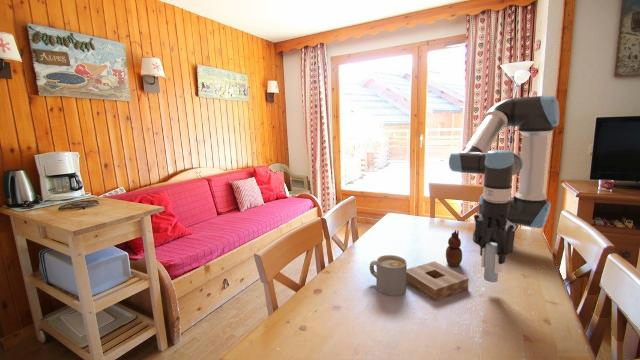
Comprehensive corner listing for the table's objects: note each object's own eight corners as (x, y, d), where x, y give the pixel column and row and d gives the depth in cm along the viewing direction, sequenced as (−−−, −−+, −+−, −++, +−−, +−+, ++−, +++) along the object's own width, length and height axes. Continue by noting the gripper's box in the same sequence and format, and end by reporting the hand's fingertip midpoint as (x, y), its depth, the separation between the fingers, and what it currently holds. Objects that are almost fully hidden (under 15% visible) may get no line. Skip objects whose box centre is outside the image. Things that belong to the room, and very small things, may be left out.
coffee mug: (412, 289, 106) (412, 262, 105) (392, 299, 101) (392, 270, 99) (382, 274, 117) (383, 249, 115) (363, 283, 111) (363, 256, 110)
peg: (489, 274, 105) (491, 241, 103) (500, 280, 102) (503, 245, 99) (481, 277, 104) (483, 244, 101) (492, 283, 100) (494, 248, 98)
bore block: (434, 271, 119) (434, 261, 118) (467, 289, 105) (468, 278, 105) (403, 280, 112) (403, 270, 112) (434, 301, 99) (435, 289, 98)
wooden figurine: (463, 269, 120) (465, 231, 117) (447, 268, 121) (449, 231, 118) (459, 261, 126) (461, 226, 123) (444, 260, 127) (445, 225, 125)
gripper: (464, 196, 103) (461, 261, 108) (515, 208, 88) (509, 283, 93) (480, 192, 107) (476, 256, 111) (531, 204, 91) (524, 277, 96)
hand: (491, 268), depth 102 cm, fingers closed on peg, 4 cm apart
